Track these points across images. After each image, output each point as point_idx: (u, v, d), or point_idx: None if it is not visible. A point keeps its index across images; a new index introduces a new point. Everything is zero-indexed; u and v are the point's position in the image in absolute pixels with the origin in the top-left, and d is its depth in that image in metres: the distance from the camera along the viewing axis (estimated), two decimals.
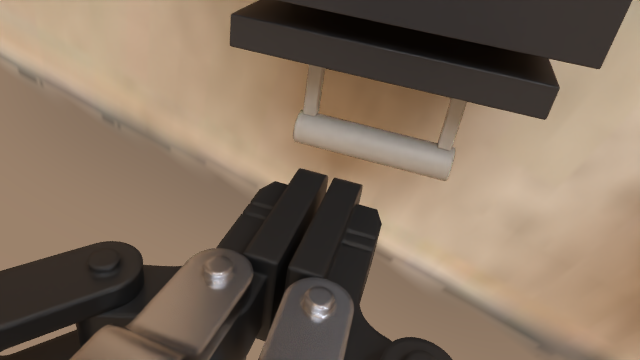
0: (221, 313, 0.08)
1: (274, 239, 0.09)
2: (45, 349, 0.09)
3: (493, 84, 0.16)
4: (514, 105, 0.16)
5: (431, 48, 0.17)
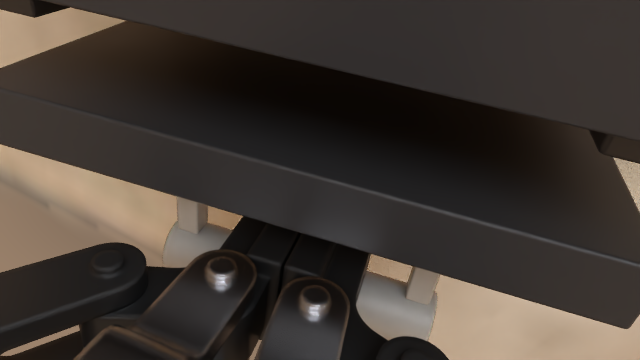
0: (224, 315, 0.08)
1: (277, 240, 0.09)
2: (48, 350, 0.09)
3: (512, 253, 0.07)
4: (558, 297, 0.07)
5: (379, 156, 0.08)
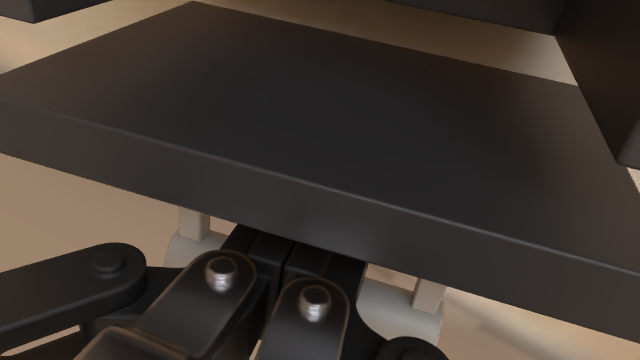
0: (224, 315, 0.08)
1: (277, 240, 0.09)
2: (48, 350, 0.09)
3: (525, 266, 0.07)
4: (573, 311, 0.07)
5: (386, 165, 0.08)
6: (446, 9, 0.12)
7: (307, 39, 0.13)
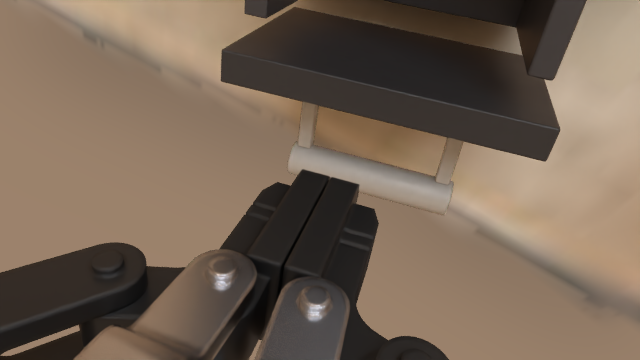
0: (224, 315, 0.08)
1: (277, 240, 0.09)
2: (48, 350, 0.09)
3: (492, 125, 0.15)
4: (513, 146, 0.16)
5: (427, 86, 0.17)
6: (454, 12, 0.20)
7: (371, 30, 0.22)
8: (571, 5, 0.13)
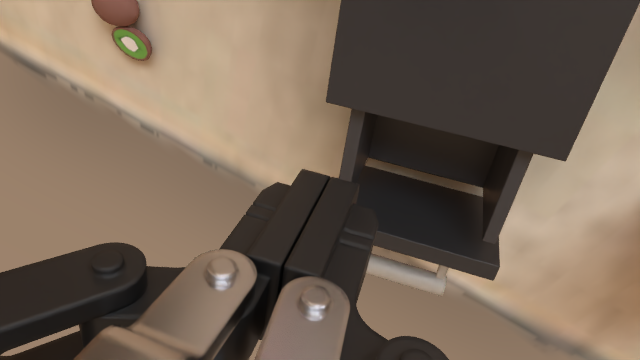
0: (224, 315, 0.08)
1: (277, 240, 0.09)
2: (48, 350, 0.09)
3: (465, 262, 0.30)
4: (476, 272, 0.30)
5: (431, 236, 0.31)
6: (447, 177, 0.35)
7: (397, 182, 0.36)
8: (501, 214, 0.28)
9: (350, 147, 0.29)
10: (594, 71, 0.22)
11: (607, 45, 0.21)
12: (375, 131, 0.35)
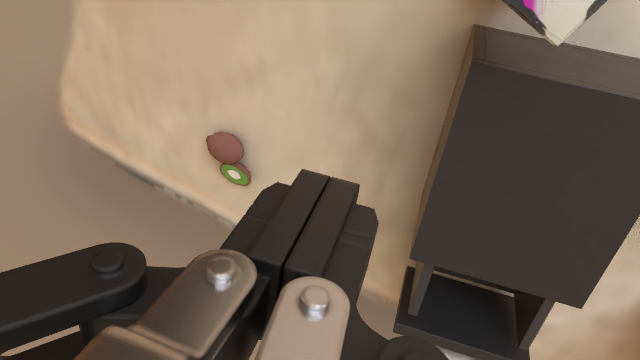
0: (224, 315, 0.08)
1: (277, 240, 0.09)
2: (48, 350, 0.09)
3: None
4: None
5: (478, 339, 0.42)
6: (486, 284, 0.46)
7: (447, 285, 0.47)
8: (533, 332, 0.39)
9: (423, 282, 0.39)
10: (602, 259, 0.33)
11: (611, 246, 0.32)
12: None
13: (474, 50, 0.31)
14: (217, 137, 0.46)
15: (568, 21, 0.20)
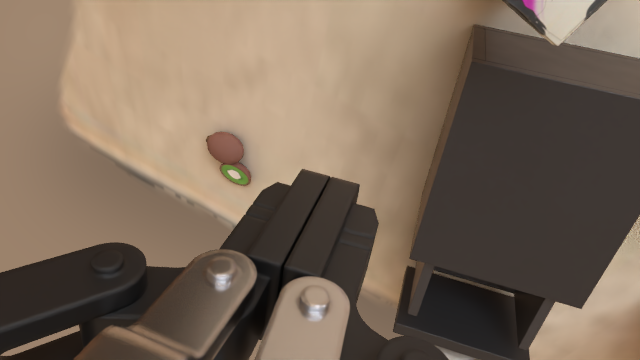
0: (224, 315, 0.08)
1: (277, 240, 0.09)
2: (48, 350, 0.09)
3: None
4: None
5: (478, 339, 0.42)
6: (486, 284, 0.46)
7: (447, 285, 0.47)
8: (533, 332, 0.39)
9: (423, 282, 0.39)
10: (602, 259, 0.33)
11: (611, 246, 0.32)
12: None
13: (474, 50, 0.31)
14: (217, 137, 0.46)
15: (568, 21, 0.20)
